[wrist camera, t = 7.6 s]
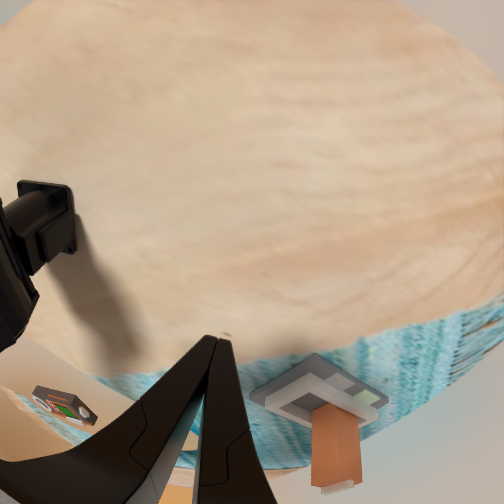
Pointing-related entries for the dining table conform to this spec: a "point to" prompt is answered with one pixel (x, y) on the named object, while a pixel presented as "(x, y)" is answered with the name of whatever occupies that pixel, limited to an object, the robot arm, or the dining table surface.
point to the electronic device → (64, 405)
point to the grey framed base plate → (318, 393)
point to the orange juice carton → (335, 449)
